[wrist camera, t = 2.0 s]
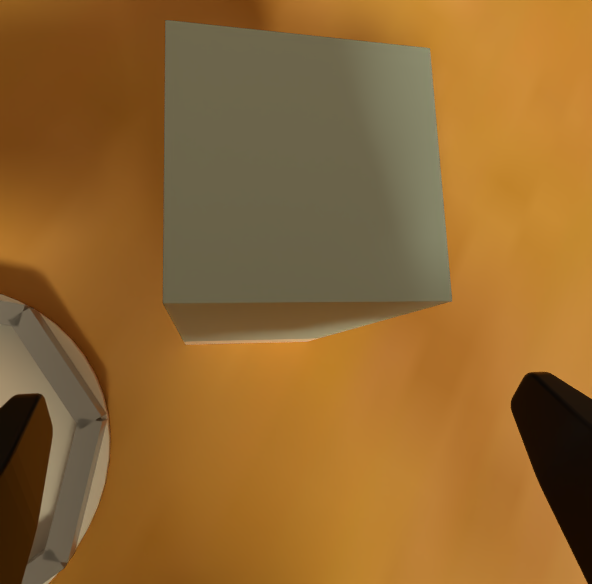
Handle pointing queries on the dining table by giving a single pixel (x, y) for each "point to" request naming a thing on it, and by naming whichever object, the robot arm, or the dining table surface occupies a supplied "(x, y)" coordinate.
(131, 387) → the dining table surface
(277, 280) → the gray block
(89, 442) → the coaster
